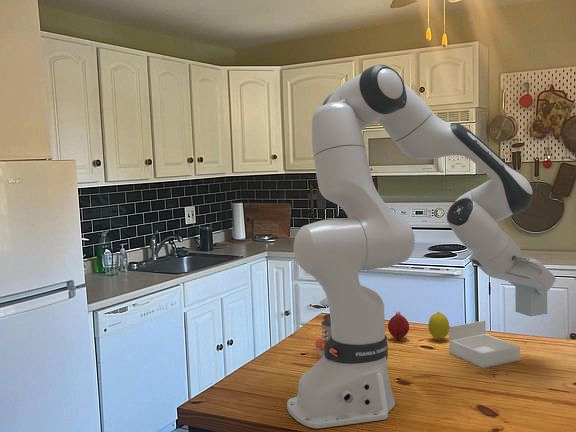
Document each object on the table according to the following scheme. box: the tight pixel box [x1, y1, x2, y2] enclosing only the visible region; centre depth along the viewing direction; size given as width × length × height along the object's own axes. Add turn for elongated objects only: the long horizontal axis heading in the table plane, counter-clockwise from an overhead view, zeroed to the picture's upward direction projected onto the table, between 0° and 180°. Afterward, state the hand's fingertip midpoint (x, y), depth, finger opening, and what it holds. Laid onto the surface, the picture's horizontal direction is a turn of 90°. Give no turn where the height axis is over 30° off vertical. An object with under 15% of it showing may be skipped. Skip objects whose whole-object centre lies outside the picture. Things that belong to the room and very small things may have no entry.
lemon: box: [427, 311, 450, 341], centre depth 162 cm, size 6×6×8 cm
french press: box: [318, 297, 331, 358], centre depth 154 cm, size 10×12×25 cm
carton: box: [514, 283, 548, 317], centre depth 142 cm, size 5×5×10 cm
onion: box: [387, 310, 410, 341], centre depth 164 cm, size 6×6×8 cm
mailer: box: [448, 320, 521, 370], centre depth 147 cm, size 11×13×7 cm
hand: (533, 290), depth 142 cm, fingers closed on carton, 5 cm apart
